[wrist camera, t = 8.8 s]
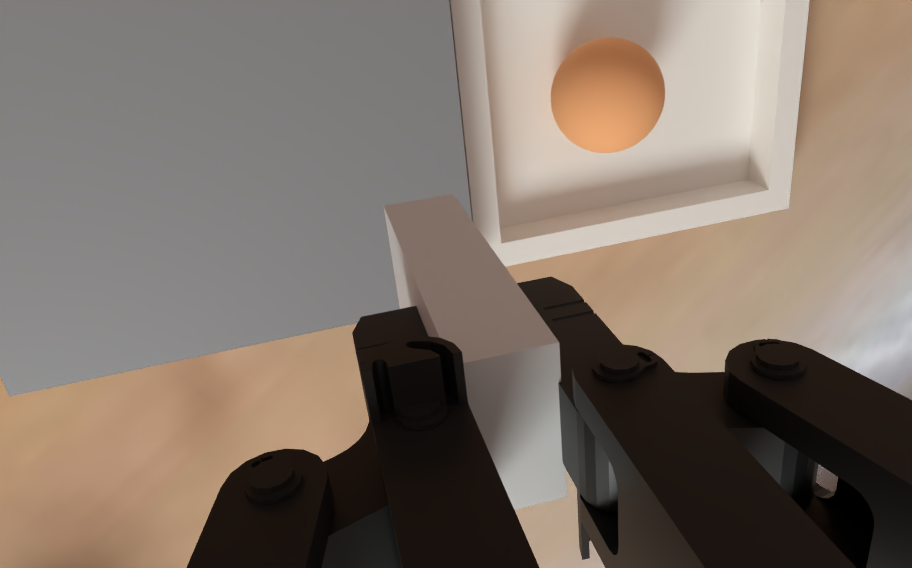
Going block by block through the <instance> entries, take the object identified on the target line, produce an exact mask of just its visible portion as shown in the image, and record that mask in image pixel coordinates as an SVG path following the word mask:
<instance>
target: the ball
mask: <svg viewBox="0 0 912 568" xmlns="http://www.w3.org/2000/svg"><path fill="white" fill-rule="evenodd" d="M664 102H665V83H664V79H663V75H662V72H661V70H660V68H659V66H658V64H657V62H656V61H655V59H654V58H653V57H652V56H651V54H650V53H649V52H648V51H646V50H645V49H644V48H642V47H641V46H640V45H638V44H636V43H634V42H632V41H629V40H626V39H622V38H613V37H606V38H599V39H595V40H592V41H589V42H587V43H585V44H583V45H581V46H579V47H578V48H577V49H575V50H574V51H572V52H571V53H570V54H569V55H568V56H567V57H566V58H565V60H564V61H563V62H562V64H561V65H560V66H559V68H558V70H557V72H556V74H555V77H554V80H553V83H552V87H551V109H552V113H553V116H554V119H555V121H556V123H557V125H558V127H559V129H560V130H561V132H562V133H563V134H564V135H565V136H566V137H567V138H568V139H569V140H570V141H571V142H573V143H574V144H575V145H577V146H579V147H581V148H583V149H585V150H588V151H592V152H597V153H613V152H618V151H622V150H625V149H628V148H630V147H632V146H634V145H636V144H637V143H639V142H640V141H641V140H643V139H644V138H645V137H646V136H647V135H648V134H649V133H650V132H651V131H652V129H653V128H654V127H655V125H656V123H657V122H658V120H659V118H660V115H661V113H662V110H663V107H664Z"/></svg>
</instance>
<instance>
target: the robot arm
mask: <svg viewBox="0 0 912 568" xmlns="http://www.w3.org/2000/svg"><path fill="white" fill-rule="evenodd" d="M384 212H385V218H386V224H387V231H388V237H389V243H390V250H391V256H392V262H393V269H394V275H395V281H396V288H397V294H398V300H399V306H400V309H397V310H392V311H387V312H382V313H377V314H372V315H367V316H362V317H361V318H360V320H359V321H358V323H357V325H356V327H355V329H354V331H353V333H352V334H353V339H354V344H355V350H356V355H357V360H358V365H359V370H360V375H361V380H362V386H363V391H364V396H365V401H366V406H367V411H368V416H369V424H368V426H367V429H366V431H365V433H364V434H363V435H362V437H361V438H360V439H359V440H358V441H357V442H356V443H355V444H354V445H352V446H351V447H350V448H349V449H347V450H346V451H344V452H342V453H340V454H339V455H337V456H335V457H333V458H331V459H329V460H327V461H324V462H323V461H322V460H321V459H320V457H319V456H318V455H315V454H313V453H310V452H308V451H306V450H299V449H282V450H277V451H272V452H267V453H264V454H262V455H259V456H257V457H255V458H253V459H250V460H248V461H246V462H245V463H243V464H242V465H241V466H240V467H238V468H237V469H236V470H234V471H233V472H232V473H231V474H230V475H229V477H228V478H227V479H226V481H225V482H224V484H223V485H222V487H221V488H220V491H219V493H218V495H217V498H216V500H215V502H214V505H213V507H212V509H211V512H210V514H209V516H208V519H207V521H206V524H205V526H204V528H203V531H202V533H201V535H200V538H199V540H198V542H197V545H196V547H195V549H194V552H193V554H192V556H191V559H190V561H189V563H188V566H187V568H539V566H538V564H537V561H536V559H535V557H534V554H533V552H532V550H531V547H530V545H529V543H528V541H527V538H526V536H525V534H524V531H523V529H522V527H521V524H520V522H519V520H518V517H517V515H516V513H515V510H517V509H521V508H525V507H529V506H533V505H537V504H541V503H545V502H549V501H553V500H557V499H561V498H565V497H567V484H566V470H567V471H568V473H569V475H570V477H571V478H572V480H573V482H574V484H575V486H576V487H577V500H578V523H579V546H580V552H581V556H582V560H584V559H588V558H590V557H589V541H590V539H591V541H592V543H593V545H594V547H595V549H596V551H597V553H598V555H599V556H600V558H601V560H602V562H603V564H604V566H605V568H912V400H910V399H908V398H906V397H904V396H902V395H900V394H898V393H896V392H895V391H893V390H891V389H889V388H887V387H885V386H883V385H881V384H879V383H877V382H875V381H873V380H871V379H869V378H867V377H865V376H863V375H861V374H859V373H857V372H855V371H853V370H851V369H850V368H848V367H846V366H844V365H842V364H840V363H838V362H836V361H834V360H832V359H830V358H828V357H826V356H824V355H822V354H820V353H818V352H816V351H814V350H812V349H810V348H807V347H804V346H802V345H799V344H796V343H793V342H787V341H781V340H777V339H768V340H765V339H763V340H754V341H750V342H746V343H742V344H740V345H738V346H736V347H735V348H733V349H732V350H730V351H729V353H728V356H727V358H726V360H725V372H710V373H682V372H674V370H673V369H672V368H671V367H670V366H669V365H668V364H667V363H666V362H665V361H664V360H663V359H662V358H661V357H659V356H658V355H656V354H655V353H654V352H652V351H650V350H647V349H644V348H641V347H638V346H632V345H623V344H622V343H621V342H620V341H619V340H618V339H617V337H616V336H615V335H614V334H613V333H612V332H611V331H610V329H609V328H608V327H607V326H606V325H605V324H604V322H603V321H602V320H601V319H600V318H599V317H598V316H597V314H596V313H595V314H594V313H593V310H592V309H591V308H590V306H589V305H588V304H587V303H586V302H585V303H584V299H583V298H582V297H581V296H580V295H579V294H578V293H577V291H576V290H575V289H574V288H573V287H572V286H570V285H568V284H566V283H564V282H562V281H560V280H557V279H555V278H553V277H547V278H542V279H537V280H532V281H527V282H522V283H516V281H515V280H514V279H513V277H512V276H511V274H510V273H509V272H508V270H507V269H506V267H505V266H504V265H503V263H502V262H501V260H500V259H499V258H498V256H497V255H496V253H495V252H494V251H493V249H492V248H491V246H490V245H489V244H488V242H487V241H486V239H485V238H484V237H483V235H482V234H481V232H480V231H479V230H478V228H477V227H476V226H475V224H474V223H473V221H472V220H471V219H470V217H469V216H468V214H467V213H466V212H465V210H464V209H463V207H462V206H461V205H460V203H459V202H458V200H457V199H456V198H455V196H454V195H453V194H449V195H444V196H438V197H432V198H427V199H421V200H416V201H410V202H404V203H399V204H393V205H387V206H384ZM818 464H819V465H821V466H823V467H824V468H826V469H827V470H829V471H830V472H832V473H833V474H835V475H836V476H838V483H837V489H836V491H835V492H831V491H829V490H827V489H825V488H823V487H821V486H820V485H818V484H817V483H816V476H817V469H818Z"/></svg>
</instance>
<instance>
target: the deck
mask: <svg viewBox="0 0 912 568" xmlns="http://www.w3.org/2000/svg"><path fill="white" fill-rule="evenodd" d="M449 194H453V195H454V196H455V198H456V199H457V200H458V202H459V203H460V205H461V206H462V207H463V209H464V210H465V212H466V213H467V214H468V216H469V217H470V219H471V220H472V215H471V206H470V196H469V187H468V177H467V167H466V158H465V148H464V138H463V129H462V119H461V110H460V100H459V90H458V81H457V71H456V62H455V52H454V42H453V33H452V23H451V13H450V4H449V0H0V377H1V379H2V382H3V384H4V386H5V388H6V390H7V393H8V395H9V397H10V396H14V395H19V394H24V393H28V392H33V391H38V390H43V389H47V388H52V387H57V386H62V385H66V384H71V383H76V382H80V381H85V380H90V379H95V378H99V377H104V376H109V375H113V374H118V373H123V372H128V371H132V370H137V369H142V368H147V367H151V366H156V365H161V364H165V363H170V362H175V361H180V360H184V359H189V358H194V357H198V356H203V355H208V354H213V353H217V352H222V351H227V350H232V349H236V348H241V347H246V346H250V345H255V344H260V343H265V342H269V341H274V340H279V339H283V338H288V337H293V336H298V335H302V334H307V333H312V332H317V331H321V330H326V329H331V328H335V327H340V326H345V325H350V324H354V323H358V321H359V320H360V318H361V317H362V316H367V315H372V314H377V313H382V312H387V311H392V310H397V309H400V306H399V300H398V294H397V288H396V281H395V275H394V269H393V262H392V256H391V250H390V243H389V237H388V231H387V224H386V218H385V212H384V206H387V205H393V204H399V203H404V202H410V201H416V200H421V199H427V198H432V197H438V196H444V195H449Z"/></svg>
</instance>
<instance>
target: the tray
mask: <svg viewBox="0 0 912 568" xmlns="http://www.w3.org/2000/svg"><path fill="white" fill-rule="evenodd" d="M809 1H810V0H449V4H450V13H451V23H452V33H453V42H454V52H455V62H456V71H457V81H458V90H459V100H460V110H461V119H462V129H463V138H464V148H465V158H466V167H467V177H468V187H469V196H470V206H471V215H472V221H473V223H474V224H475V226H476V227H477V228H478V230H479V231H480V232H481V234H482V235H483V237H484V238H485V239H486V241H487V242H488V244H489V245H490V246H491V248H492V249H493V251H494V252H495V253H496V255H497V256H498V258H499V259H500V260H501V262H502V263H503V265H504V266H505V267H506V266H510V265H515V264H520V263H525V262H530V261H535V260H540V259H544V258H549V257H554V256H559V255H564V254H569V253H574V252H578V251H583V250H588V249H593V248H598V247H603V246H608V245H612V244H617V243H622V242H627V241H632V240H637V239H642V238H647V237H651V236H656V235H661V234H666V233H671V232H676V231H681V230H685V229H690V228H695V227H700V226H705V225H710V224H715V223H719V222H724V221H729V220H734V219H739V218H744V217H749V216H753V215H758V214H763V213H768V212H773V211H778V210H783V209H787V208H789V199H790V189H791V179H792V169H793V160H794V150H795V140H796V130H797V120H798V110H799V100H800V90H801V80H802V71H803V61H804V51H805V41H806V31H807V21H808V11H809ZM606 37H613V38H622V39H626V40H629V41H632V42H634V43H636V44H638V45H640V46H641V47H642V48H644V49H645V50H646V51H648V52H649V53H650V54H651V56H652V57H653V58H654V59H655V61H656V62H657V64H658V66H659V68H660V70H661V72H662V75H663V79H664V83H665V102H664V107H663V110H662V113H661V115H660V118H659V120H658V122H657V123H656V125H655V127H654V128H653V129H652V131H651V132H650V133H649V134H648V135H647V136H646V137H645V138H644V139H643V140H641V141H640V142H639V143H637V144H636V145H634V146H632V147H630V148H628V149H625V150H622V151H618V152H613V153H597V152H592V151H588V150H585V149H583V148H581V147H579V146H577V145H575V144H574V143H573V142H571V141H570V140H569V139H568V138H567V137H566V136H565V135H564V134H563V133H562V132H561V130H560V129H559V127H558V125H557V123H556V121H555V119H554V116H553V113H552V109H551V87H552V83H553V80H554V77H555V74H556V72H557V70H558V68H559V66H560V65H561V64H562V62H563V61H564V60H565V58H566V57H567V56H568V55H569V54H570V53H571V52H572V51H574V50H575V49H577V48H578V47H579V46H581V45H583V44H585V43H587V42H589V41H592V40H595V39H599V38H606Z"/></svg>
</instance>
